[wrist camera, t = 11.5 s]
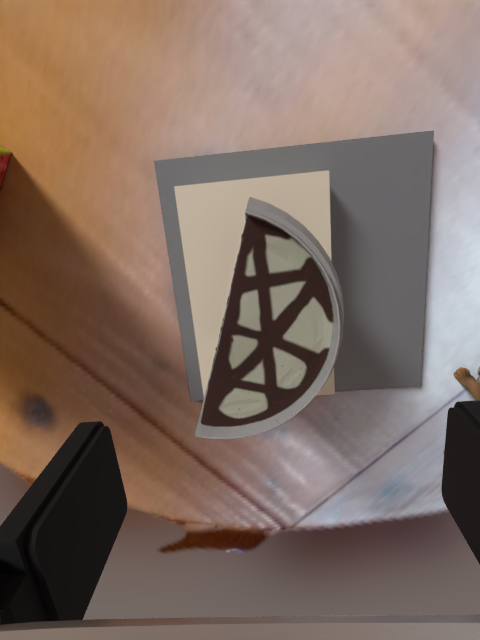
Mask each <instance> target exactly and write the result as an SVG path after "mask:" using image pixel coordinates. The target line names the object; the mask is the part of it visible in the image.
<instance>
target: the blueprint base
mask: <svg viewBox="0 0 480 640" xmlns="http://www.w3.org/2000/svg"><path fill="white" fill-rule="evenodd" d="M433 137H434V131H426V132H416V133H407V134H398V135H389V136H380V137H371V138H361V139H352V140H343V141H334V142H325V143H315V144H306V145H297V146H288V147H279V148H270V149H260V150H251V151H242V152H233V153H224V154H214V155H205V156H196V157H187V158H178V159H169V160H159V161H154V163H155V170H156V176H157V183H158V190H159V196H160V203H161V209H162V216H163V222H164V229H165V235H166V242H167V248H168V255H169V261H170V268H171V275H172V281H173V288H174V294H175V301H176V307H177V314H178V320H179V327H180V333H181V340H182V346H183V353H184V360H185V366H186V373H187V379H188V386H189V392H190V399H191V401H200V400H204V396H205V392H206V388H207V384H208V380H209V376H210V372H211V368H212V364H213V359H214V356H215V352H216V350H215V348H216V347H217V344H218V340H219V334H220V328H221V327H222V322H223V318H224V313H225V309H226V303H227V299H228V296H229V291H230V287H231V283H232V278H233V274H234V268H235V264H236V261H237V255H238V252H239V248H240V243H241V235H242V234H243V230H244V226H245V221H246V220H245V211H246V207H247V203H248V200H249V197H252V198H255V199H258V200H261V201H264V202H267V203H269V204H271V205H273V206H275V207H277V208H279V209H281V210H283V211H285V212H287V213H288V214H289V215H291V216H292V217H293V218H295V219H296V220H297V221H299V222H300V223H301V224H303V225H304V226H305V227H306V228H307V229H308V230H309V231H310V232H311V233H312V235H313V236H314V237H315V238H316V239H317V240H318V241H319V243H320V244H321V246H322V247H323V249H324V250H325V251H326V253H327V254H328V256H329V258H330V260H331V262H332V264H333V266H334V269H335V271H336V273H337V276H338V279H339V283H340V287H341V290H342V296H343V306H344V326H343V338H342V343H341V347H340V351H339V355H338V359H337V361H336V363H335V365H334V368H333V370H332V372H331V374H330V376H329V378H328V379H327V381H326V382H325V384H324V385H323V387H322V388H321V390H320V391H319V392H318V393H317V395H316V396H319V395H334V394H335V392H337V391H352V390H368V389H383V388H398V387H413V386H421V373H422V353H423V333H424V314H425V294H426V275H427V255H428V235H429V216H430V196H431V177H432V157H433Z"/></svg>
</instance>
